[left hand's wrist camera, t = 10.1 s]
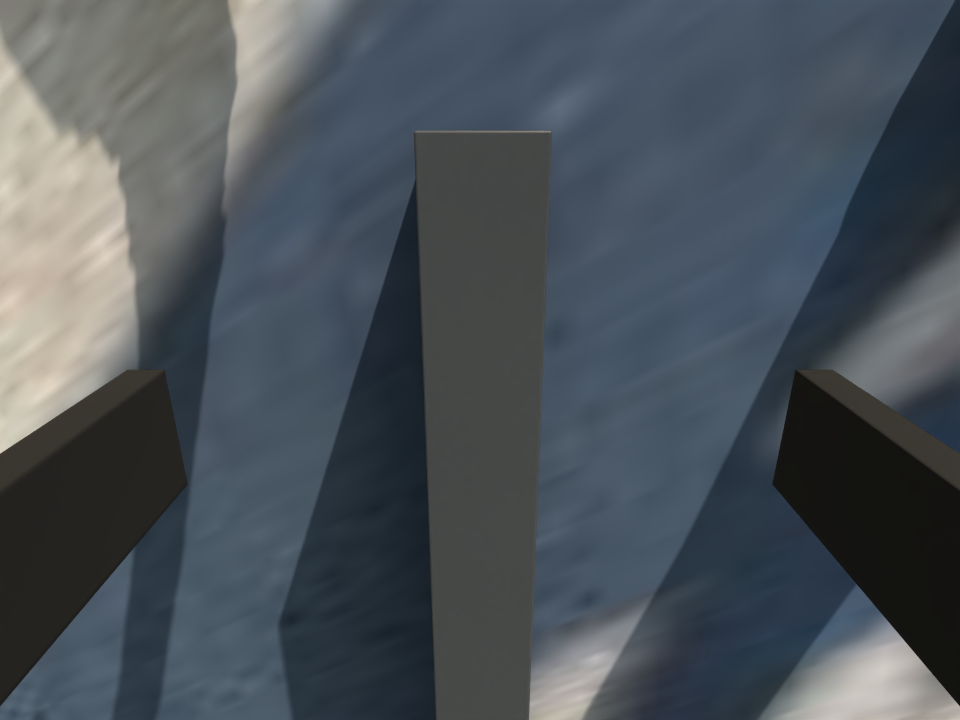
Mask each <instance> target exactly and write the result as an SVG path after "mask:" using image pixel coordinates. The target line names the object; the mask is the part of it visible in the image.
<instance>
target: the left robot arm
mask: <svg viewBox="0 0 960 720" xmlns="http://www.w3.org/2000/svg"><path fill="white" fill-rule="evenodd" d="M186 485H187V480H186V475H185V470H184V465H183V460H182V455H181V450H180V445H179V440H178V435H177V430H176V425H175V420H174V415H173V410H172V405H171V400H170V395H169V390H168V385H167V380H166V375H165V370H127V371H125V372H124V373H122V374H121V375H119V376H118V377H116V378H114V379H113V380H111V381H110V382H108V383H107V384H105V385H104V386H102V387H101V388H99V389H98V390H96V391H95V392H93V393H92V394H90V395H89V396H87V397H86V398H84V399H83V400H81V401H80V402H78V403H77V404H75V405H74V406H72V407H70V408H69V409H67V410H66V411H64V412H63V413H61V414H60V415H58V416H57V417H55V418H54V419H52V420H51V421H49V422H48V423H46V424H45V425H43V426H42V427H40V428H39V429H37V430H36V431H34V432H33V433H31V434H30V435H28V436H27V437H25V438H23V439H22V440H20V441H19V442H17V443H16V444H14V445H13V446H11V447H10V448H8V449H7V450H5V451H4V452H2V453H1V454H0V706H1V705H2V703H3V702H4V701H5V700H6V699H7V697H8V696H9V695H10V694H11V693H12V692H13V690H14V689H15V688H16V687H17V686H18V684H19V683H20V682H21V681H22V680H23V678H24V677H25V676H26V675H27V674H28V673H29V671H30V670H31V669H32V668H33V667H34V665H35V664H36V663H37V662H38V661H39V660H40V658H41V657H42V656H43V655H44V654H45V652H46V651H47V650H48V649H49V648H50V646H51V645H52V644H53V643H54V642H55V641H56V639H57V638H58V637H59V636H60V635H61V633H62V632H63V631H64V630H65V629H66V628H67V626H68V625H69V624H70V623H71V622H72V620H73V619H74V618H75V617H76V616H77V614H78V613H79V612H80V611H81V610H82V609H83V607H84V606H85V605H86V604H87V603H88V601H89V600H90V599H91V598H92V597H93V596H94V594H95V593H96V592H97V591H98V590H99V588H100V587H101V586H102V585H103V584H104V582H105V581H106V580H107V579H108V578H109V577H110V575H111V574H112V573H113V572H114V571H115V569H116V568H117V567H118V566H119V565H120V564H121V562H122V561H123V560H124V559H125V558H126V556H127V555H128V554H129V553H130V552H131V550H132V549H133V548H134V547H135V546H136V545H137V543H138V542H139V541H140V540H141V539H142V537H143V536H144V535H145V534H146V533H147V532H148V530H149V529H150V528H151V527H152V526H153V524H154V523H155V522H156V521H157V520H158V518H159V517H160V516H161V515H162V514H163V513H164V511H165V510H166V509H167V508H168V507H169V505H170V504H171V503H172V502H173V501H174V500H175V498H176V497H177V496H178V495H179V494H180V492H181V491H182V490H183V489H184V488H185V486H186ZM773 485H774V486H775V488H776V489H777V490H778V491H779V492H780V494H781V495H782V496H783V497H784V498H785V500H786V501H787V502H788V503H789V504H790V505H791V507H792V508H793V509H794V510H795V511H796V513H797V514H798V515H799V516H800V517H801V518H802V520H803V521H804V522H805V523H806V524H807V526H808V527H809V528H810V529H811V530H812V532H813V533H814V534H815V535H816V536H817V537H818V539H819V540H820V541H821V542H822V543H823V545H824V546H825V547H826V548H827V549H828V550H829V552H830V553H831V554H832V555H833V556H834V558H835V559H836V560H837V561H838V562H839V564H840V565H841V566H842V567H843V568H844V569H845V571H846V572H847V573H848V574H849V575H850V577H851V578H852V579H853V580H854V581H855V582H856V584H857V585H858V586H859V587H860V588H861V590H862V591H863V592H864V593H865V594H866V596H867V597H868V598H869V599H870V600H871V601H872V603H873V604H874V605H875V606H876V607H877V609H878V610H879V611H880V612H881V613H882V614H883V616H884V617H885V618H886V619H887V620H888V622H889V623H890V624H891V625H892V626H893V628H894V629H895V630H896V631H897V632H898V633H899V635H900V636H901V637H902V638H903V639H904V641H905V642H906V643H907V644H908V645H909V646H910V648H911V649H912V650H913V651H914V652H915V654H916V655H917V656H918V657H919V658H920V660H921V661H922V662H923V663H924V664H925V665H926V667H927V668H928V669H929V670H930V671H931V673H932V674H933V675H934V676H935V677H936V678H937V680H938V681H939V682H940V683H941V684H942V686H943V687H944V688H945V689H946V690H947V692H948V693H949V694H950V695H951V696H952V697H953V699H954V700H955V701H956V702H957V703H958V705H959V706H960V454H959V453H958V452H956V451H955V450H953V449H952V448H950V447H949V446H947V445H946V444H944V443H943V442H941V441H940V440H938V439H937V438H935V437H933V436H932V435H930V434H929V433H927V432H926V431H924V430H923V429H921V428H920V427H918V426H917V425H915V424H914V423H912V422H911V421H909V420H908V419H906V418H905V417H903V416H902V415H900V414H899V413H897V412H896V411H894V410H893V409H891V408H890V407H888V406H886V405H885V404H883V403H882V402H880V401H879V400H877V399H876V398H874V397H873V396H871V395H870V394H868V393H867V392H865V391H864V390H862V389H861V388H859V387H858V386H856V385H855V384H853V383H852V382H850V381H849V380H847V379H846V378H844V377H842V376H841V375H839V374H838V373H836V372H835V371H833V370H795V375H794V380H793V385H792V390H791V395H790V400H789V405H788V410H787V415H786V420H785V425H784V430H783V435H782V440H781V445H780V450H779V455H778V460H777V465H776V470H775V475H774V480H773Z"/></svg>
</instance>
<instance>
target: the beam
mask: <svg viewBox="0 0 960 720" xmlns="http://www.w3.org/2000/svg"><path fill="white" fill-rule="evenodd" d="M551 141H552V133H551V131H415V132H414V148H415V175H416V202H417V229H418V256H419V283H420V310H421V337H422V364H423V390H424V417H425V444H426V471H427V498H428V525H429V552H430V579H431V606H432V633H433V659H434V686H435V713H436V720H529V703H530V677H531V652H532V626H533V600H534V575H535V549H536V524H537V498H538V473H539V447H540V422H541V396H542V371H543V345H544V320H545V294H546V268H547V243H548V217H549V192H550V166H551Z"/></svg>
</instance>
